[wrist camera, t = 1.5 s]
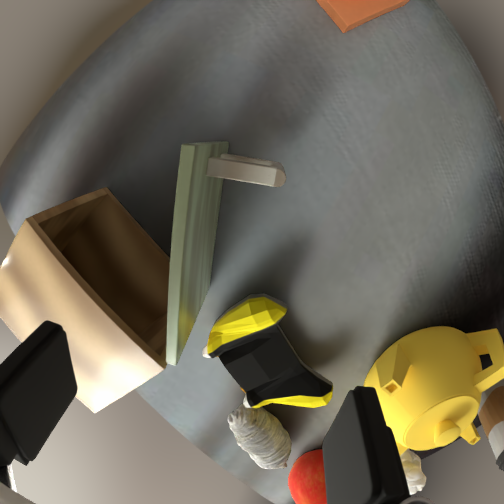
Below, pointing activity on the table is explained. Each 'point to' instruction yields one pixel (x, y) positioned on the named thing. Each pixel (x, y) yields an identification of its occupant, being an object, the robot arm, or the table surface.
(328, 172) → the table surface
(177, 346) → the door
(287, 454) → the seashell
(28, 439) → the robot arm
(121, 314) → the cupboard
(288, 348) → the black and yellow shoe
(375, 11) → the button block
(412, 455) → the figurine
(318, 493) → the apple
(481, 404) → the coffee cup
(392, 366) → the teapot
